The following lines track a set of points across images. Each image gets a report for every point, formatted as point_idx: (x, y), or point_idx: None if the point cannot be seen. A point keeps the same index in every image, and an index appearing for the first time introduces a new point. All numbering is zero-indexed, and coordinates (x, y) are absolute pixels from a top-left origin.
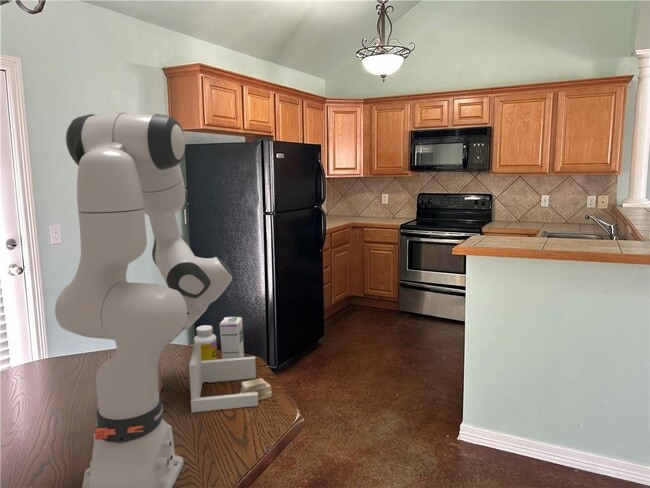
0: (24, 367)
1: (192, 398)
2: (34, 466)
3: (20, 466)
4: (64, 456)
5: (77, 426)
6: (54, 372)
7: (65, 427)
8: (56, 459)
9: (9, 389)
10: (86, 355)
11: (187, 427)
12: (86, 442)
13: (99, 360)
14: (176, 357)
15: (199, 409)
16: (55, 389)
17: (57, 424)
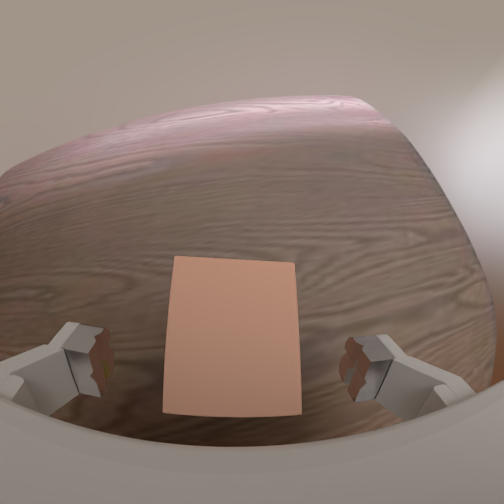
0: (368, 110)
1: None
2: (10, 189)
3: (21, 172)
4: (6, 220)
5: (84, 212)
6: (356, 138)
7: (92, 192)
8: (6, 211)
9: (290, 98)
10: (428, 178)
11: None
12: (21, 243)
13: (416, 200)
14: None
15: None
16: (281, 143)
17: (112, 176)
